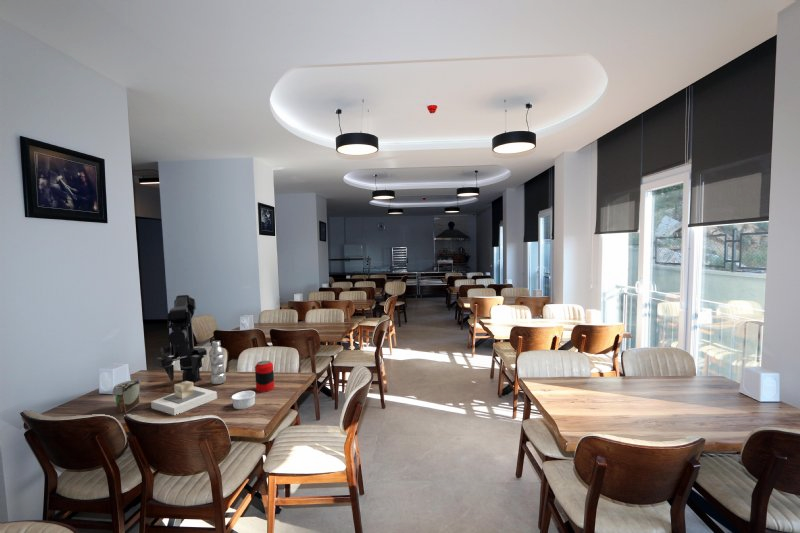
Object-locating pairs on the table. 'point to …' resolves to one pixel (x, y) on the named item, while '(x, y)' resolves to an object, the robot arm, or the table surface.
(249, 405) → the ramekin
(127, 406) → the food container
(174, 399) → the base
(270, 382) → the soda can
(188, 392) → the birch block
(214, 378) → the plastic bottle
